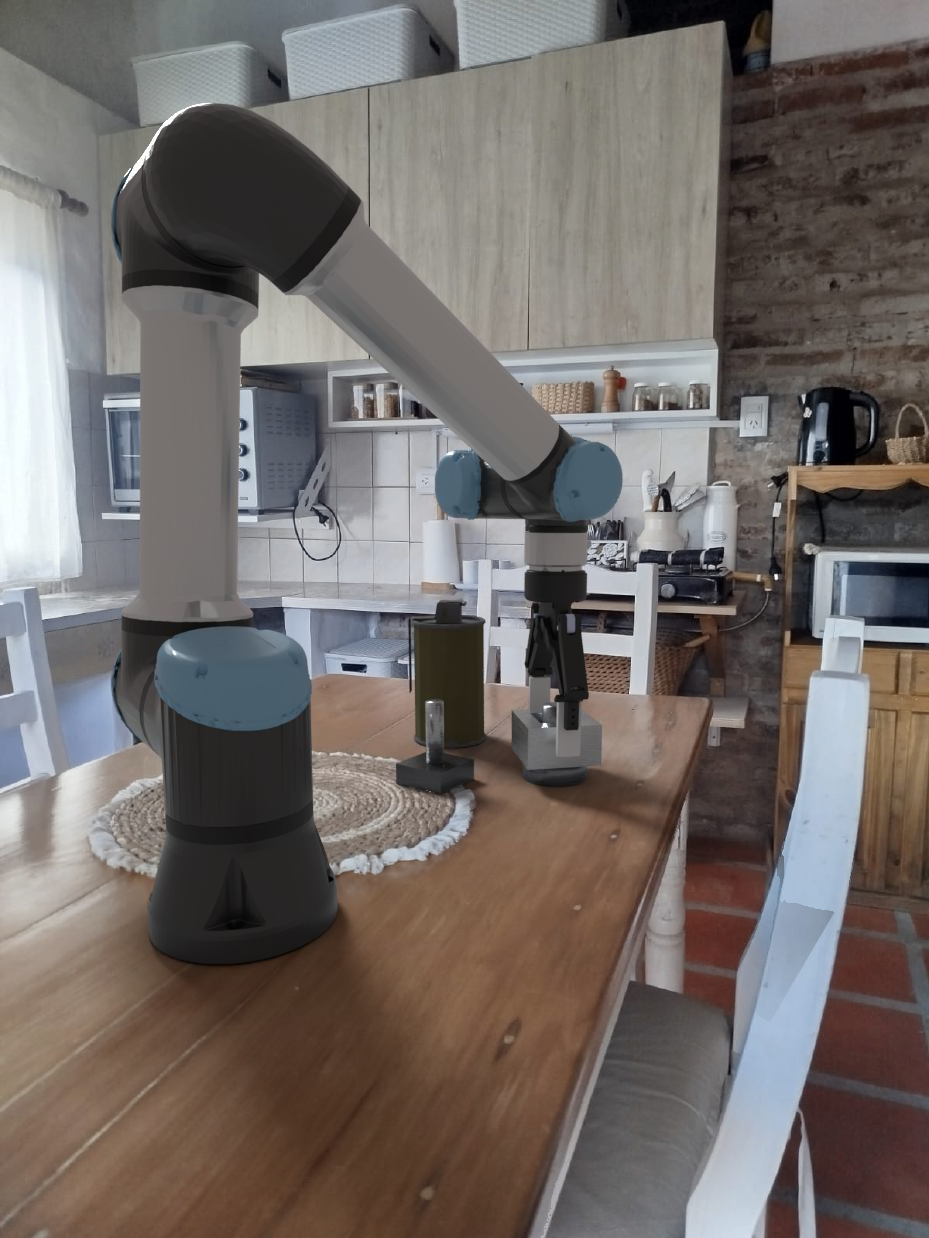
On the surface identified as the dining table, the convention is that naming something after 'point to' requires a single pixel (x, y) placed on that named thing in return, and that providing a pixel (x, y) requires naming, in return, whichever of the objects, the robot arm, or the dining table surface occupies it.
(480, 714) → the canister
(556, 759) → the grey square ring block
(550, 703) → the cylinder
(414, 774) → the stand
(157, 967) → the dining table surface
